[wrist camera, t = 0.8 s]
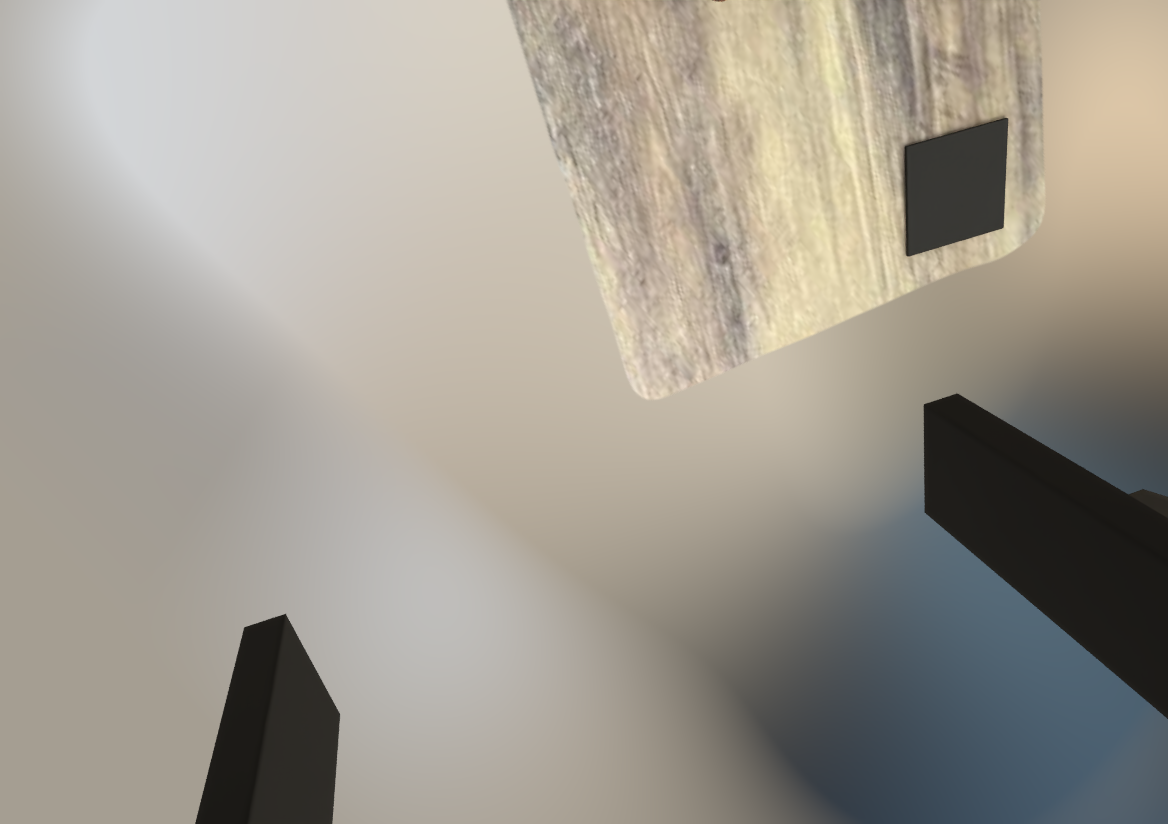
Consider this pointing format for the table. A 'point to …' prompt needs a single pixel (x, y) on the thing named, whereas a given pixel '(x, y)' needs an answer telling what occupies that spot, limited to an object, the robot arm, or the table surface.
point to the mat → (955, 186)
